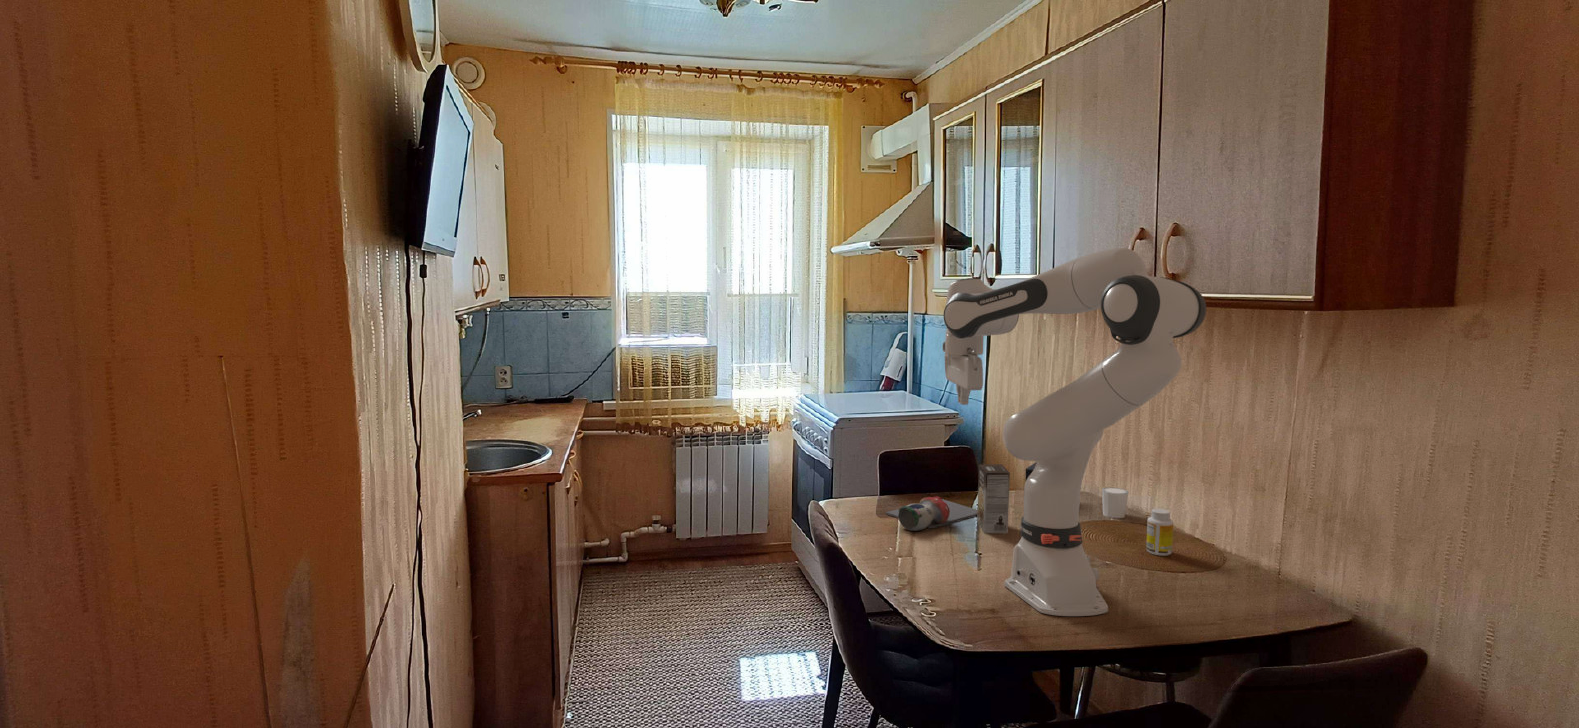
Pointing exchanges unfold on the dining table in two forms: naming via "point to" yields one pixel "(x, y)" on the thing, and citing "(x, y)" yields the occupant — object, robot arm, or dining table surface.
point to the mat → (955, 514)
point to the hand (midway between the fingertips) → (963, 403)
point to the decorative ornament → (923, 513)
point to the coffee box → (993, 498)
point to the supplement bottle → (1159, 533)
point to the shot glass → (1114, 502)
